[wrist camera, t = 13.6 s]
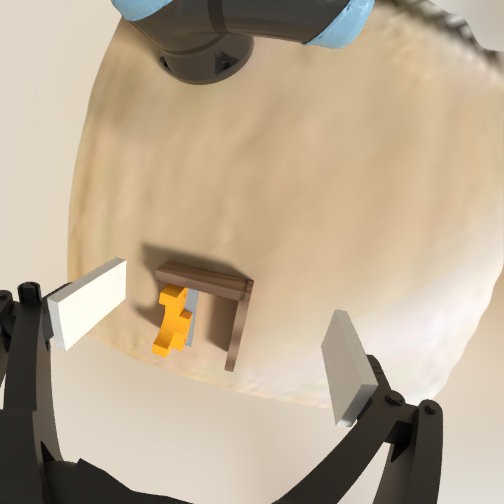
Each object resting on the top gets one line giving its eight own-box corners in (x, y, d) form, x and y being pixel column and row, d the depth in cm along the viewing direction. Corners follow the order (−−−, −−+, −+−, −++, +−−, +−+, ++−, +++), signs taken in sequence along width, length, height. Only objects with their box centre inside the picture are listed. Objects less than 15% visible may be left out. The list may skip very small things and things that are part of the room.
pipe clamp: (186, 341, 48) (175, 361, 42) (165, 333, 48) (151, 352, 42) (199, 285, 45) (187, 302, 38) (175, 277, 45) (160, 292, 39)
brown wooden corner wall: (167, 260, 44) (155, 270, 40) (254, 281, 44) (250, 293, 39) (162, 334, 49) (151, 349, 44) (237, 355, 48) (233, 372, 43)
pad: (171, 277, 45) (170, 277, 45) (199, 284, 45) (198, 284, 45) (166, 338, 49) (166, 339, 48) (191, 345, 49) (190, 346, 48)
